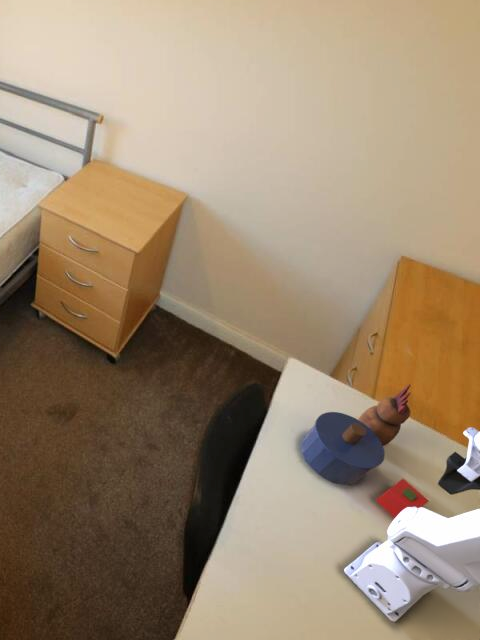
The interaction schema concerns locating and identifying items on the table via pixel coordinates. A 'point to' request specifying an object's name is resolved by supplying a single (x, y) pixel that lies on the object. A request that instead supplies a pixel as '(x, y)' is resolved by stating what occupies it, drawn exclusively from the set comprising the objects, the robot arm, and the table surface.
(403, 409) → the wooden figurine
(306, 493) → the table surface
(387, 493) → the block
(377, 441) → the pot lid
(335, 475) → the pot
